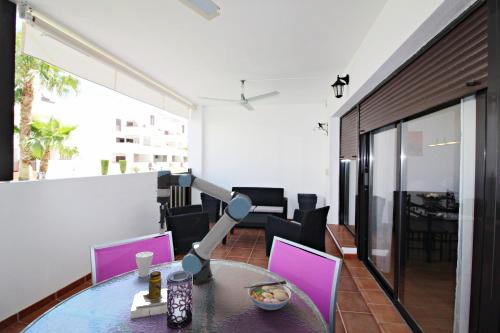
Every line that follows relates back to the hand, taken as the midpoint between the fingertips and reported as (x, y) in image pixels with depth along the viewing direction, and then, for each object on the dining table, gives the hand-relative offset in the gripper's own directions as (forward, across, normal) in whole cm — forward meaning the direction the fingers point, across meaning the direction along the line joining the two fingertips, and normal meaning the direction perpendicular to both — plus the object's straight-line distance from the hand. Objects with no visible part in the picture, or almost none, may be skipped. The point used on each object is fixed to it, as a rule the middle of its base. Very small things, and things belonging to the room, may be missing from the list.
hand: (162, 231), depth 145 cm
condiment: (+28, +21, -3) cm, 35 cm away
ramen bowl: (+33, +36, +55) cm, 74 cm away
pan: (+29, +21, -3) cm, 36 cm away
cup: (+33, -19, -11) cm, 40 cm away
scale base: (+33, +21, -3) cm, 39 cm away
